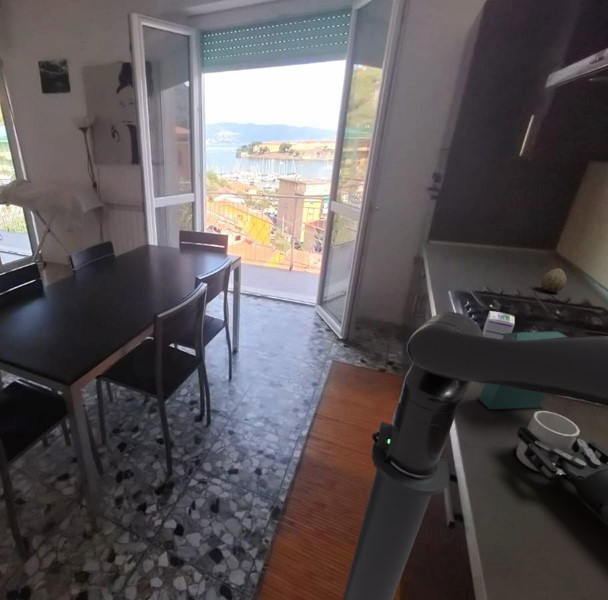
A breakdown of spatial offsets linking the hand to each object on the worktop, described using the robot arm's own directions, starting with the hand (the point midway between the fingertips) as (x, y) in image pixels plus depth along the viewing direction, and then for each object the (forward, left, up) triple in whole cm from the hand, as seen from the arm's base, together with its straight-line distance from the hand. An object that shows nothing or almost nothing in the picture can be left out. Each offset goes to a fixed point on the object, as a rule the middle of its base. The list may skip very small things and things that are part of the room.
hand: (537, 429), depth 71 cm
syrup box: (-3, +34, -6) cm, 35 cm away
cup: (+1, -2, -6) cm, 6 cm away
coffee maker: (+1, +13, -6) cm, 14 cm away
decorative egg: (+26, +102, -6) cm, 106 cm away
